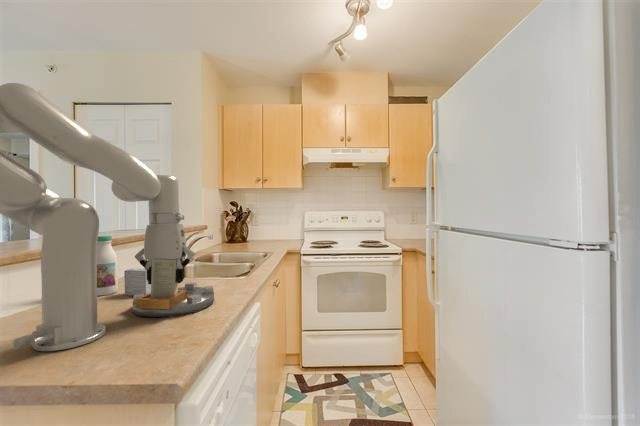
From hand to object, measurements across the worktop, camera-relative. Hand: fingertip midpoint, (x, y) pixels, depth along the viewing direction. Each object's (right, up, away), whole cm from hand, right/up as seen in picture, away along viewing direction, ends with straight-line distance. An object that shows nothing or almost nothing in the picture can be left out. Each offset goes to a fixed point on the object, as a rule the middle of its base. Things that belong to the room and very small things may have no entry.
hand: (166, 282), depth 84 cm
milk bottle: (-32, -9, +20) cm, 38 cm away
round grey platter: (0, -8, +6) cm, 10 cm away
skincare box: (-1, -5, 0) cm, 5 cm away
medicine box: (-19, -9, +19) cm, 28 cm away
